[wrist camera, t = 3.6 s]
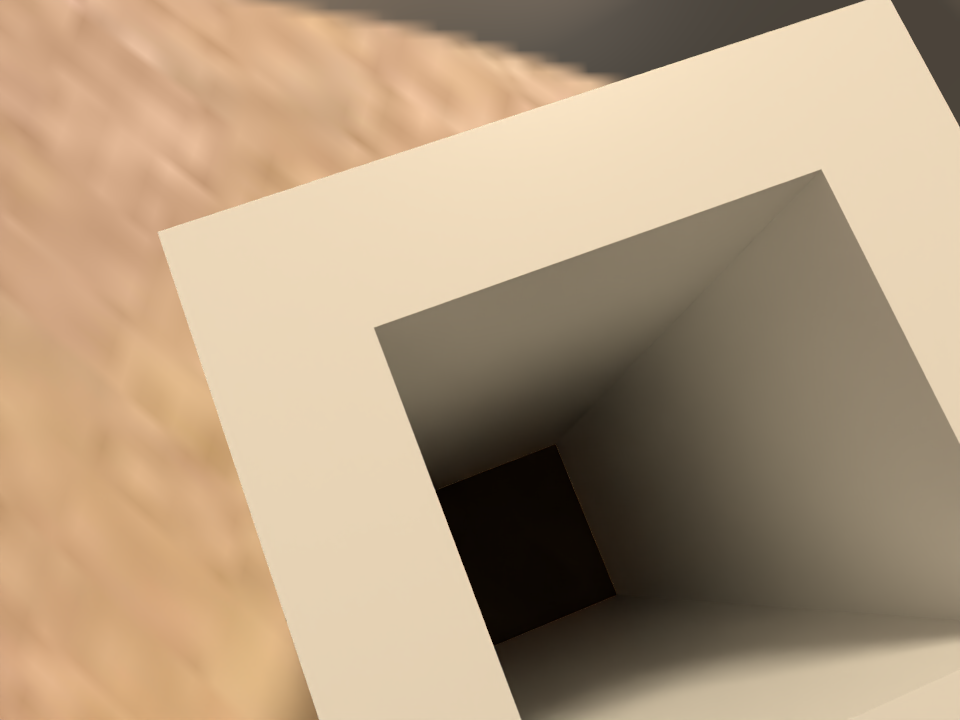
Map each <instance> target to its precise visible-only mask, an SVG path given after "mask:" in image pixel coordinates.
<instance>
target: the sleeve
mask: <svg viewBox="0 0 960 720" xmlns="http://www.w3.org/2000/svg"><path fill="white" fill-rule="evenodd" d="M158 235H159V238H160V241H161V244H162V247H163V250H164V253H165V256H166V259H167V262H168V265H169V268H170V271H171V274H172V277H173V280H174V283H175V286H176V289H177V292H178V295H179V298H180V301H181V304H182V307H183V310H184V313H185V316H186V319H187V322H188V325H189V328H190V331H191V334H192V337H193V340H194V343H195V346H196V350H197V353H198V356H199V359H200V362H201V365H202V368H203V371H204V374H205V377H206V380H207V383H208V386H209V389H210V392H211V395H212V398H213V401H214V404H215V407H216V410H217V413H218V416H219V419H220V422H221V425H222V428H223V431H224V434H225V437H226V440H227V443H228V446H229V449H230V452H231V455H232V458H233V461H234V464H235V467H236V470H237V473H238V476H239V479H240V482H241V485H242V488H243V491H244V494H245V497H246V501H247V504H248V507H249V510H250V513H251V516H252V519H253V522H254V525H255V528H256V531H257V534H258V537H259V540H260V543H261V546H262V549H263V552H264V555H265V558H266V561H267V564H268V567H269V570H270V573H271V576H272V579H273V582H274V585H275V588H276V591H277V594H278V597H279V600H280V603H281V606H282V609H283V612H284V615H285V618H286V621H287V624H288V627H289V630H290V633H291V636H292V639H293V642H294V645H295V649H296V652H297V655H298V658H299V661H300V664H301V667H302V670H303V673H304V676H305V679H306V682H307V685H308V688H309V691H310V694H311V697H312V700H313V703H314V706H315V709H316V712H317V715H318V718H319V720H960V127H959V125H958V123H957V122H956V120H955V118H954V116H953V114H952V112H951V111H950V109H949V107H948V105H947V103H946V101H945V100H944V98H943V96H942V94H941V92H940V90H939V88H938V87H937V85H936V83H935V81H934V79H933V78H932V76H931V74H930V72H929V70H928V68H927V66H926V65H925V63H924V61H923V59H922V57H921V55H920V54H919V52H918V50H917V48H916V46H915V44H914V43H913V41H912V39H911V37H910V35H909V33H908V32H907V30H906V28H905V26H904V24H903V22H902V21H901V19H900V17H899V15H898V13H897V11H896V9H895V8H894V6H893V4H892V2H891V0H866V1H863V2H860V3H857V4H854V5H851V6H847V7H844V8H841V9H839V10H835V11H832V12H829V13H826V14H823V15H820V16H817V17H814V18H811V19H808V20H805V21H802V22H799V23H796V24H793V25H789V26H786V27H783V28H780V29H777V30H774V31H771V32H768V33H765V34H762V35H759V36H756V37H753V38H750V39H747V40H743V41H740V42H737V43H734V44H732V45H728V46H725V47H722V48H719V49H716V50H713V51H710V52H707V53H704V54H701V55H698V56H695V57H691V58H689V59H685V60H682V61H679V62H676V63H673V64H670V65H667V66H664V67H661V68H658V69H655V70H652V71H649V72H646V73H643V74H640V75H636V76H633V77H631V78H627V79H624V80H622V81H618V82H615V83H612V84H609V85H606V86H603V87H600V88H597V89H594V90H591V91H587V92H584V93H581V94H578V95H575V96H572V97H569V98H566V99H563V100H560V101H557V102H554V103H551V104H548V105H545V106H542V107H539V108H535V109H532V110H529V111H526V112H523V113H520V114H517V115H514V116H511V117H508V118H505V119H502V120H499V121H496V122H493V123H490V124H487V125H483V126H480V127H477V128H474V129H471V130H468V131H465V132H462V133H459V134H456V135H453V136H450V137H447V138H444V139H441V140H438V141H435V142H431V143H428V144H425V145H422V146H419V147H416V148H413V149H410V150H407V151H404V152H401V153H398V154H395V155H392V156H389V157H386V158H383V159H379V160H376V161H373V162H370V163H367V164H364V165H361V166H358V167H355V168H352V169H349V170H346V171H343V172H340V173H337V174H334V175H331V176H327V177H324V178H321V179H318V180H315V181H312V182H309V183H306V184H303V185H300V186H297V187H294V188H291V189H288V190H285V191H282V192H279V193H275V194H272V195H269V196H266V197H263V198H260V199H257V200H254V201H251V202H248V203H245V204H242V205H239V206H236V207H233V208H230V209H227V210H223V211H220V212H217V213H214V214H211V215H208V216H205V217H202V218H199V219H196V220H193V221H190V222H187V223H184V224H181V225H178V226H175V227H171V228H168V229H165V230H162V231H159V232H158ZM555 444H556V447H557V449H558V452H559V454H560V456H561V459H562V461H563V464H564V466H565V469H566V471H567V474H568V476H569V479H570V481H571V483H572V486H573V488H574V491H575V493H576V496H577V498H578V501H579V503H580V505H581V508H582V510H583V513H584V515H585V518H586V520H587V523H588V525H589V528H590V530H591V532H592V535H593V537H594V540H595V542H596V545H597V547H598V550H599V552H600V554H601V557H602V559H603V562H604V564H605V567H606V569H607V572H608V574H609V576H610V579H611V581H612V584H613V586H614V589H615V591H616V594H617V595H615V596H613V597H610V598H608V599H605V600H603V601H600V602H598V603H596V604H593V605H591V606H588V607H586V608H584V609H581V610H579V611H576V612H574V613H571V614H569V615H567V616H564V617H562V618H559V619H557V620H555V621H552V622H550V623H547V624H545V625H542V626H540V627H538V628H535V629H533V630H530V631H528V632H526V633H523V634H521V635H518V636H516V637H513V638H511V639H509V640H506V641H504V642H501V643H499V644H497V645H494V646H493V643H492V641H491V638H490V635H489V633H488V630H487V627H486V625H485V622H484V619H483V617H482V614H481V611H480V609H479V606H478V603H477V601H476V598H475V595H474V593H473V590H472V587H471V585H470V582H469V579H468V577H467V574H466V571H465V569H464V566H463V563H462V561H461V558H460V555H459V553H458V550H457V547H456V545H455V542H454V539H453V537H452V534H451V532H450V529H449V526H448V524H447V521H446V518H445V516H444V513H443V510H442V508H441V505H440V502H439V500H438V497H437V494H436V492H435V490H438V489H440V488H443V487H445V486H448V485H451V484H453V483H456V482H458V481H461V480H464V479H466V478H469V477H471V476H474V475H477V474H479V473H482V472H484V471H487V470H490V469H492V468H495V467H497V466H500V465H503V464H505V463H508V462H510V461H513V460H516V459H518V458H521V457H524V456H526V455H529V454H531V453H534V452H537V451H539V450H542V449H544V448H547V447H550V446H552V445H555Z"/></svg>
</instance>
